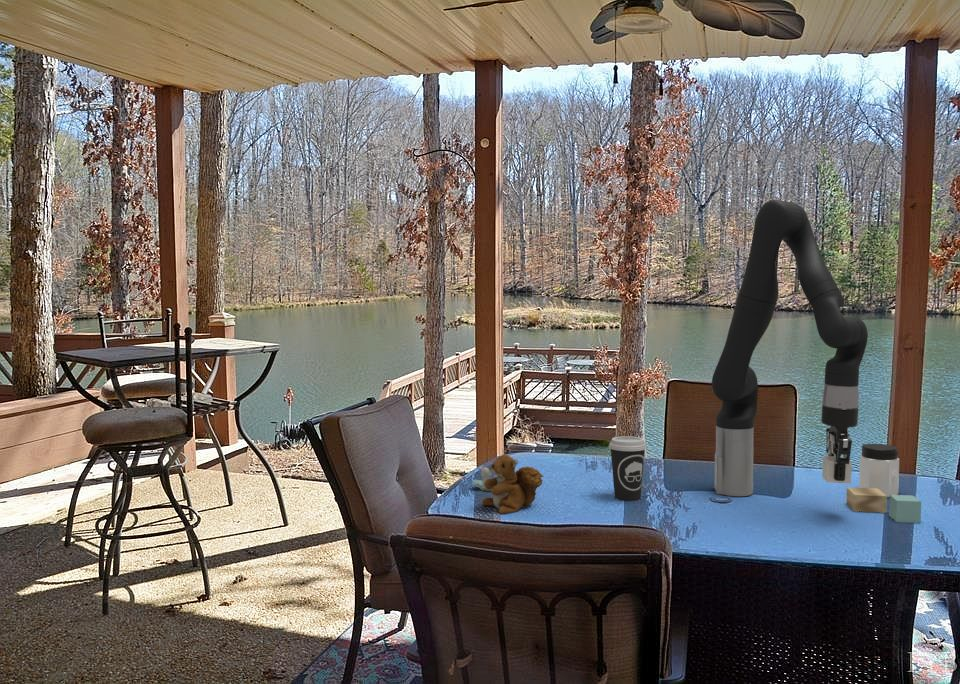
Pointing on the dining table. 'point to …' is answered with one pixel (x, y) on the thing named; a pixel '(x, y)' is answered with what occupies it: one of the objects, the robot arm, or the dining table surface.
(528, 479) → the stuffed squirrel
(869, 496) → the base block
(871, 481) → the jar
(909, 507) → the teal cube
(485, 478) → the pacifier
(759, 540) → the dining table surface
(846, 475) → the cream cube
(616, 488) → the coffee cup
